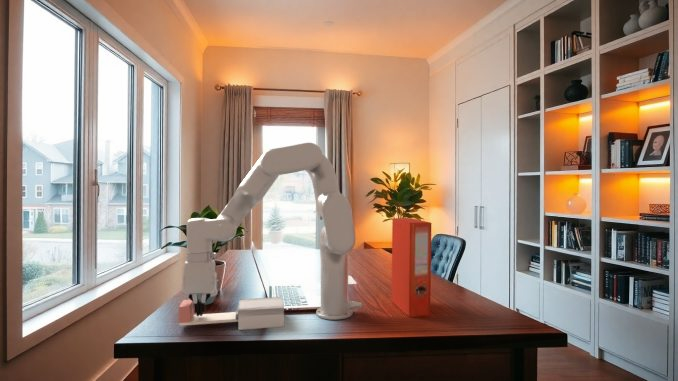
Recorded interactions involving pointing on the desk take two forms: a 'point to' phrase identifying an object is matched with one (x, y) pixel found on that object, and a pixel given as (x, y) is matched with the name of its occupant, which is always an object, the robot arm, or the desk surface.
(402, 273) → the file binder
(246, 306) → the block
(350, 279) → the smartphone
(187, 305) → the long cream plank
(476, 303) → the desk surface
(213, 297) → the flower pot
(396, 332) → the desk surface
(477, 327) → the desk surface
